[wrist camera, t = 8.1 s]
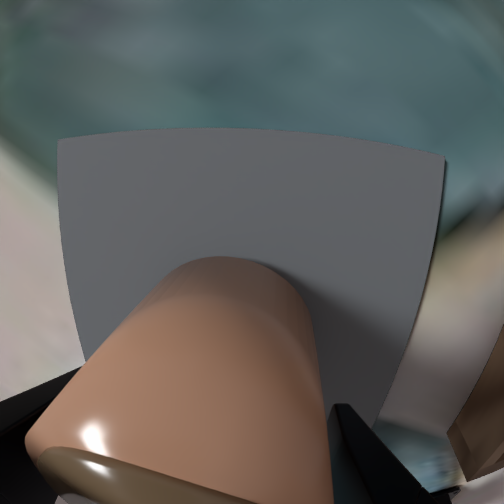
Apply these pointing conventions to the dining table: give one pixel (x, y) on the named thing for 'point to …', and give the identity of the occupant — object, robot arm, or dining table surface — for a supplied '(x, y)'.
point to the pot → (195, 399)
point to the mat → (258, 233)
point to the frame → (482, 421)
